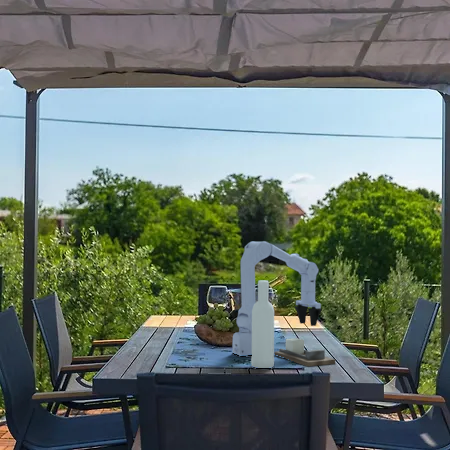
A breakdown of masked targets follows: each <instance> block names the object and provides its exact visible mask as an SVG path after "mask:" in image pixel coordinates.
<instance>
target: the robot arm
mask: <svg viewBox="0 0 450 450" xmlns="http://www.w3.org/2000/svg"><path fill="white" fill-rule="evenodd" d="M269 256H272V257H274V258H277V259H279V260H280V261H283V262H285V264H286V266H287V267H289V268H290V269H293V270H294V271H296V272H298V274H299V275H301V276H300V278H301V280H300V281H301V283H300V290H301V291H300V299H299V300H295V305H296V306H294V309H295V311H296V313H297V316H298V321H299V323H300V324H306V321H307V320H306V319H307V318H306V317H307V312H308V313H309V319H310V320H309V322H310V326H311V327H316V326H317V323H318V319H319V316H320V315H321V313H322V308H321V307H322V304H321V303H320V302H317V301H316V279H317V275H318V274H319V268H318V266H317V264H316V263H315V262H313V261H308V259H307V258H303V257H301V256H300V254H298V253H291V254H289V253H288V252H286V251H285V250H283V249H281V248H279V247H277V246H276V245H274V244H272V243H269V242H268V241H264V240H263V241H250V242H248V243H247V244H246V245H245V246H244V251H243V254H242V257H241V259H240V289H241V290H240V293H241V307H240V308H239V309H238V313H237V317H236V325H237V327H238V329H239V330H238V332H235V333H233V335H232V352H233V353H236V354H238V355H249V354H252V309H253V306H254V304H255V303H256V302H257V301H256V299H257V298H256V269H255V268H256V265H257V264H259V262H260V261H263V260H264V259H266V258H268V257H269ZM232 352H231V353H232Z"/></svg>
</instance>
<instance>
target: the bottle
mask: <svg viewBox="0 0 450 450" xmlns="http://www.w3.org/2000/svg"><path fill="white" fill-rule="evenodd" d="M269 286H270V283H269V280H263V279H262V280H261V279H260V280H258V281H257V288H258V289H257V293H258V294H257V301H256V303H255V304H254V306H253V309H252V356H250V358H251V360H250V362H251V367H252V366H254V367H258V368H269V367H273V366H274V365H275V356H274V352H275V309H274V306H273V304H272V303H271V302H270V301H269V291H270V290H269ZM274 367H275V366H274ZM274 367H273V368H274Z"/></svg>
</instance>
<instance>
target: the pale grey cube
mask: <svg viewBox="0 0 450 450" xmlns="http://www.w3.org/2000/svg"><path fill="white" fill-rule="evenodd" d="M285 350H288V351H291V352H295V353H298V354H303V353H304V350H305V340H304V339H303V338H302V339H301V338H297V337H295V338H286V339H285Z"/></svg>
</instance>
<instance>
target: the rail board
mask: <svg viewBox="0 0 450 450" xmlns="http://www.w3.org/2000/svg"><path fill="white" fill-rule="evenodd" d="M325 353H326V352H325V349H322V348H321V349H309V350H306V349H304V353H303V354H298V353H295V352H291V351H288V350H286V348H278V351H274V354H275V355H278V356H281V357H284V358H286V359H289V360H291V362H292V361H294V362H293V363H295V364H296V363H297V364H300V365H303V366H306V367H315V366H316V367H317V366H325V365H334V364H336V359H334V358H332V357H328V356H326V354H325ZM286 359H285V360H286ZM289 360H288V361H289Z"/></svg>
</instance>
